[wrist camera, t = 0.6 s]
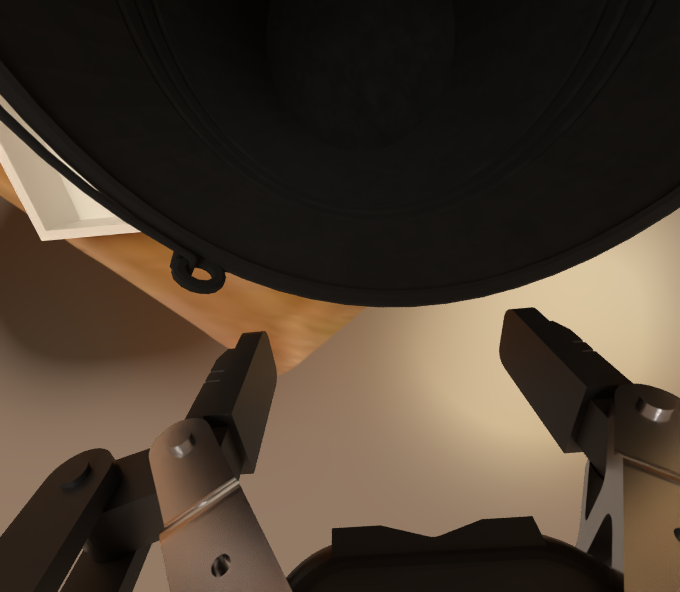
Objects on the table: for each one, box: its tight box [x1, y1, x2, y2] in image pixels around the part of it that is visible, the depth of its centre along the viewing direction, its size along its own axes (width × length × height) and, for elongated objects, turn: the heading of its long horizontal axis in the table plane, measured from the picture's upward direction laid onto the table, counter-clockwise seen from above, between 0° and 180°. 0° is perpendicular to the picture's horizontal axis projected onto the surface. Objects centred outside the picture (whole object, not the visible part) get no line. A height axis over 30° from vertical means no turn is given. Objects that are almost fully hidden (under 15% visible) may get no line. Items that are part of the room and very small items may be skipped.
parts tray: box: [0, 95, 141, 241], centre depth 33 cm, size 15×15×6 cm
